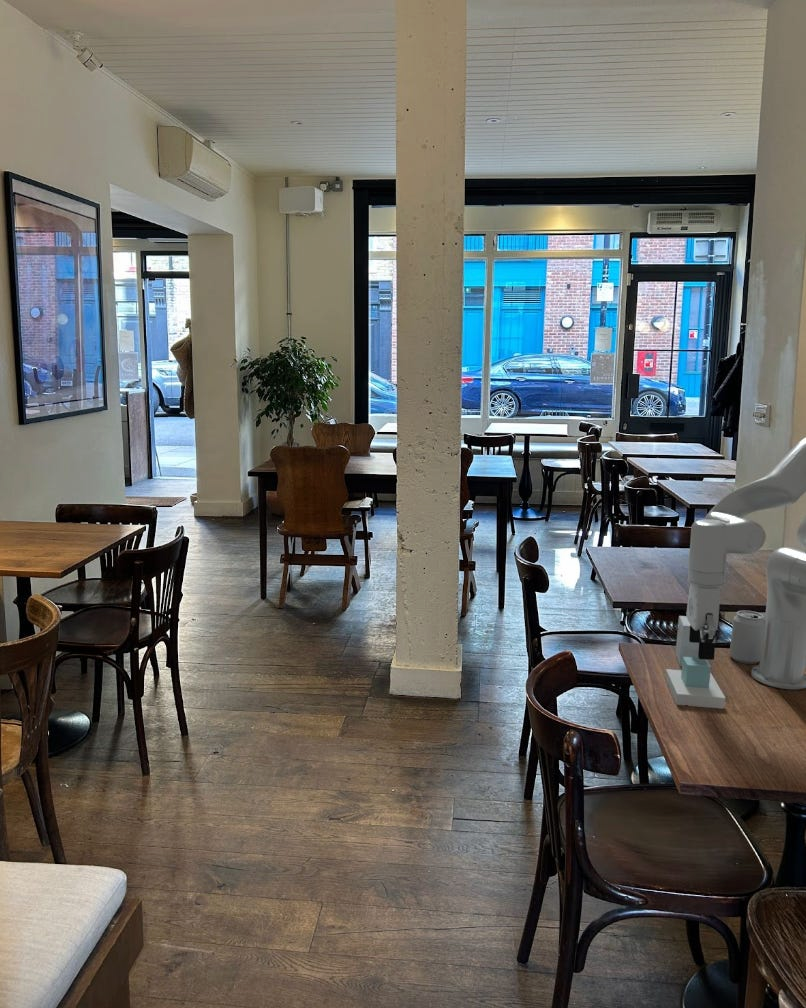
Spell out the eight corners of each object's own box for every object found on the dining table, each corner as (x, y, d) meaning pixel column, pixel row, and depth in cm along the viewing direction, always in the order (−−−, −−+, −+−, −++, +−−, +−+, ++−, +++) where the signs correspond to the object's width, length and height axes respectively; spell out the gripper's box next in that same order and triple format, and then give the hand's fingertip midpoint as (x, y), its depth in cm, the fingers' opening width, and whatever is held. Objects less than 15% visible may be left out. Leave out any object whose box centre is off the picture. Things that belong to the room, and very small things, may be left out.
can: (759, 667, 199) (765, 620, 197) (727, 661, 203) (732, 615, 200) (762, 657, 205) (768, 612, 203) (731, 651, 209) (736, 606, 207)
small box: (703, 669, 197) (707, 627, 195) (679, 666, 198) (683, 625, 196) (698, 657, 205) (702, 617, 203) (674, 654, 206) (678, 615, 204)
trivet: (665, 679, 190) (666, 669, 190) (709, 682, 189) (710, 672, 188) (676, 704, 176) (677, 693, 176) (724, 708, 175) (725, 697, 175)
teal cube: (680, 677, 185) (682, 656, 184) (703, 679, 184) (705, 658, 183) (685, 686, 180) (687, 665, 179) (708, 688, 179) (711, 666, 179)
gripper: (680, 564, 186) (676, 635, 190) (696, 588, 170) (691, 665, 173) (715, 565, 185) (710, 637, 189) (734, 589, 169) (728, 666, 172)
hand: (701, 650), depth 181 cm, fingers open, 9 cm apart
